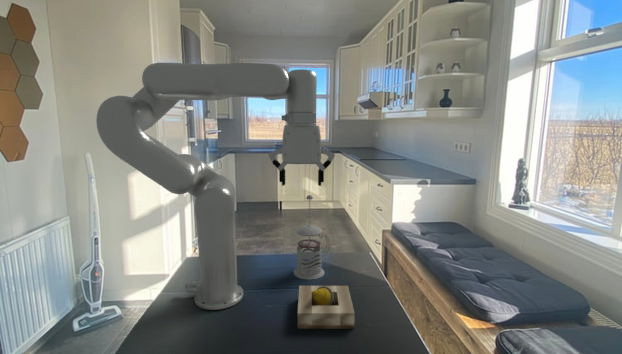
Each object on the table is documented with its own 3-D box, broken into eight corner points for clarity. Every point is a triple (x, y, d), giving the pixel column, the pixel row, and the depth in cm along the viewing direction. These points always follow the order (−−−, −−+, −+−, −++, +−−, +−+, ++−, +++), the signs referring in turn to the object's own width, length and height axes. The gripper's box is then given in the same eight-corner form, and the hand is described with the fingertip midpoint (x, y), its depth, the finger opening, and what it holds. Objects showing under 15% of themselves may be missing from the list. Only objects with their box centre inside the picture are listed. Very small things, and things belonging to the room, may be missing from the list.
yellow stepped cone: (339, 309, 83) (324, 300, 75) (320, 313, 84) (303, 305, 77) (336, 287, 86) (320, 277, 78) (317, 292, 88) (300, 283, 80)
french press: (289, 268, 107) (289, 193, 103) (321, 263, 112) (322, 190, 108) (300, 281, 98) (300, 199, 94) (335, 275, 103) (336, 196, 99)
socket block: (297, 328, 76) (297, 313, 75) (299, 298, 89) (299, 285, 88) (354, 328, 76) (354, 313, 75) (347, 299, 89) (347, 285, 88)
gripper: (266, 119, 82) (267, 187, 84) (336, 120, 82) (335, 187, 85) (270, 119, 89) (270, 182, 92) (334, 120, 89) (332, 182, 92)
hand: (301, 184), depth 88 cm, fingers open, 9 cm apart
